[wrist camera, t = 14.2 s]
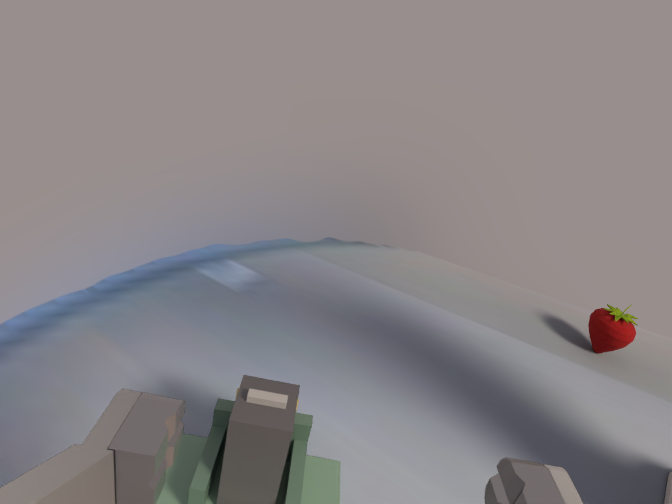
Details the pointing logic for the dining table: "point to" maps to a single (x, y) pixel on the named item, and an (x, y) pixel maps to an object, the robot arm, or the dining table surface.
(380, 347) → the dining table surface
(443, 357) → the dining table surface
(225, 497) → the plug block
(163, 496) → the header board
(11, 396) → the dining table surface
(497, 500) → the robot arm
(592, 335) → the strawberry
